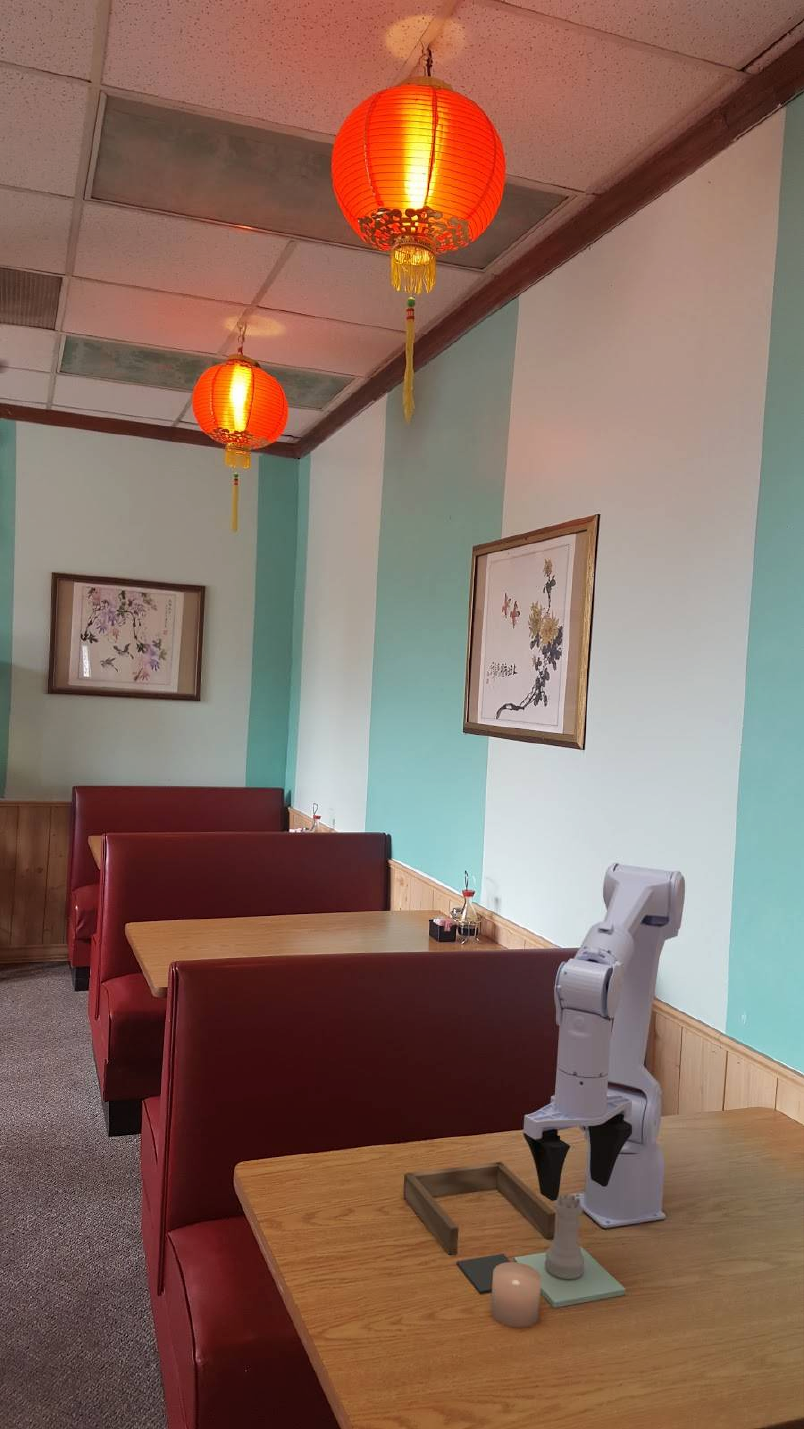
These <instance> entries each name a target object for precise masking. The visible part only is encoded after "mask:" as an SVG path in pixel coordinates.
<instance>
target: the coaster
mask: <svg viewBox="0 0 804 1429" xmlns="http://www.w3.org/2000/svg"><path fill="white" fill-rule="evenodd" d="M579 1247H580V1249H581V1253H582V1255H583V1257H584V1264H583V1266H584V1272H583V1273H582V1274H581V1275H580V1276H579V1277H578V1278H576V1279H573V1280H565V1279H560V1278H557V1277H555V1276H553V1275H552V1274H550V1273H549V1271H548V1270H547V1268H546V1266H545V1260H546V1259H547V1258H546V1252H547V1251H545V1252H540V1253H539V1252H538V1253H532V1254H527V1255H521V1256H514V1257H513V1261H512V1262H517V1263H522V1264H526V1265H528V1266H531V1267H532V1268H534V1269H535V1270H537V1271H538V1272H539V1274H540V1276H541V1288H540V1295H542V1297H544V1298H545V1300H546V1301H547V1302H548V1303H549V1305H550V1306H552V1308H554V1309H556V1308H563V1307H567V1306H572V1305H578V1304H583V1303H588V1302H593V1301H599V1300H605V1299H610V1298H617V1297H619V1296H626V1288H625V1287H624V1286H623V1285H622V1284H621V1283H620V1282H619V1281H618V1280H617V1279H615V1278H614V1277H613V1276H612V1275H611V1273H609V1272H608V1271H607V1270H606V1269H605V1268H604V1267H603V1266H602V1265H601V1264H600V1263H599V1262H598V1260H596V1259H595V1258H593V1257H592V1255H590V1254H589V1253H588V1251H586V1250H585V1249H584V1248H583V1247H582V1246H579Z"/></svg>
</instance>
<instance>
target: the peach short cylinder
mask: <svg viewBox="0 0 804 1429" xmlns="http://www.w3.org/2000/svg"><path fill="white" fill-rule="evenodd" d="M540 1288H541V1276H540V1274H539V1272H538V1271H537V1270H535V1269H534V1268H532V1267H531V1266H528V1265H526V1264H522V1263H517V1262H513V1261H510V1262H506V1263H502V1264H499V1265H498V1266H496V1267H495V1269H494V1271H493V1283H492V1292H491V1300H490V1302H491V1303H490V1314H491V1316H492V1317H493V1318H494V1319H495V1320H496V1321H497V1322H498V1323H500V1322H501V1323H500V1324H502V1323H503V1324H502V1325H505V1326H507V1327H511V1328H517V1329H518V1328H529V1327H530V1326H534V1325H535V1324H537V1322H538V1321H539V1316H540V1314H539V1313H540V1301H541V1293H540Z"/></svg>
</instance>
